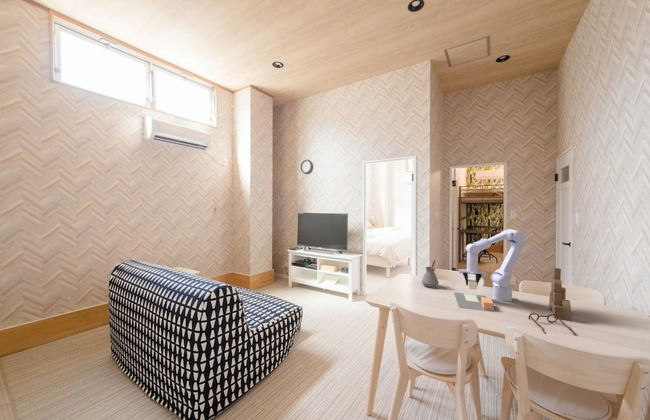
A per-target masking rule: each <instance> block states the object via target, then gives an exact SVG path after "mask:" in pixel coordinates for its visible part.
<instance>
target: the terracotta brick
mask: <svg viewBox="0 0 650 420" xmlns="http://www.w3.org/2000/svg"><path fill="white" fill-rule="evenodd" d="M486 297H487V296H486ZM486 297H481V305H482V307H483V308H484V309H485V310H493V308H494V304H495V303H494V302H493V300H492V299H491V297H487V298H486ZM494 309H495V308H494Z"/></svg>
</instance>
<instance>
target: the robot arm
mask: <svg viewBox="0 0 650 420" xmlns="http://www.w3.org/2000/svg"><path fill="white" fill-rule="evenodd" d="M504 240H507V241H508V242H509V243H510V244H509V245H510V249H509V250H508V252H507V254H506V256H505V258H504V260H503V262H502V264H501V265H500V267H499V268H498V269H496V270H495V272H493V273H492V274H491V275H490V280H491V282H492V299H494V300H496V301H501V302H512V301H513V299H512V298H513V290H512V287H511V286H510V285H511V279H512V276H511V274H510V273H511V272H512V270H513V268H514V266H515V265H516V263H517V261H518V258H519V256H520V255H521V253H522V251H523V249H524V246H525V240H526V235H525V234H524V232H523V231H521V230H516V229H512V228H507V229H506V230H502V231H501V232H500V233H497V234H495V235H493V236H492V237H489V238H488V239H487V238H480V240H477V241H473V243H469V244H467V245H466V247H465V251H466V269H464V268H463V269H462V268H461V269H458V274H462V275H463V277H464V279H465V285H466V286H467V287H468V278H469V275H468V274H470V275H475V280H476V282H477V287H478V284H479V282H480V280H481V279H482V275H483V276H486V275H487V272H486V270H484V271H483V270H478V265H479V264H478V262H479V261H478V259H479V258H478V257H479V254H480V252H481V251H484V250H486V249H489V248H490V247H491V246H492V245H493V244H495V243H497V242H500V241H504Z"/></svg>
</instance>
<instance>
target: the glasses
mask: <svg viewBox="0 0 650 420" xmlns="http://www.w3.org/2000/svg"><path fill="white" fill-rule="evenodd" d="M532 315H537V317H536V320H535V319H534V318H533V317H532ZM553 315H554V316H556V318H555V320H550V319H549V318H550V317H551V316H552V317H553ZM540 318H546V320H547V322H549V323H556V322H557V321H559V322H560V323H562V325H563V326H565V327H566V328H567V329H569V330H570V332H571V333H572V334H573V336H575V337H577V335H576V333H575V332H574V330H573V329H572V328H571V327H570V326H569V325H567V324H566V323H565V322H564V320H563V319H559V318H558V316H557V315H555V314H553V313H551V314H548V315H546V314H545V315H543V314H541V315H540V314H538V313H536V312H532V313H530V314H528V319H529V320H532V321H533V322H534V323H535V325H537V326H539V327H540V328H541V330H542V332H543V334H546V332H545V330H544V327H543V326H542V325H541V324H539V323H538V322H537V321H538V320H539V319H540Z"/></svg>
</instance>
